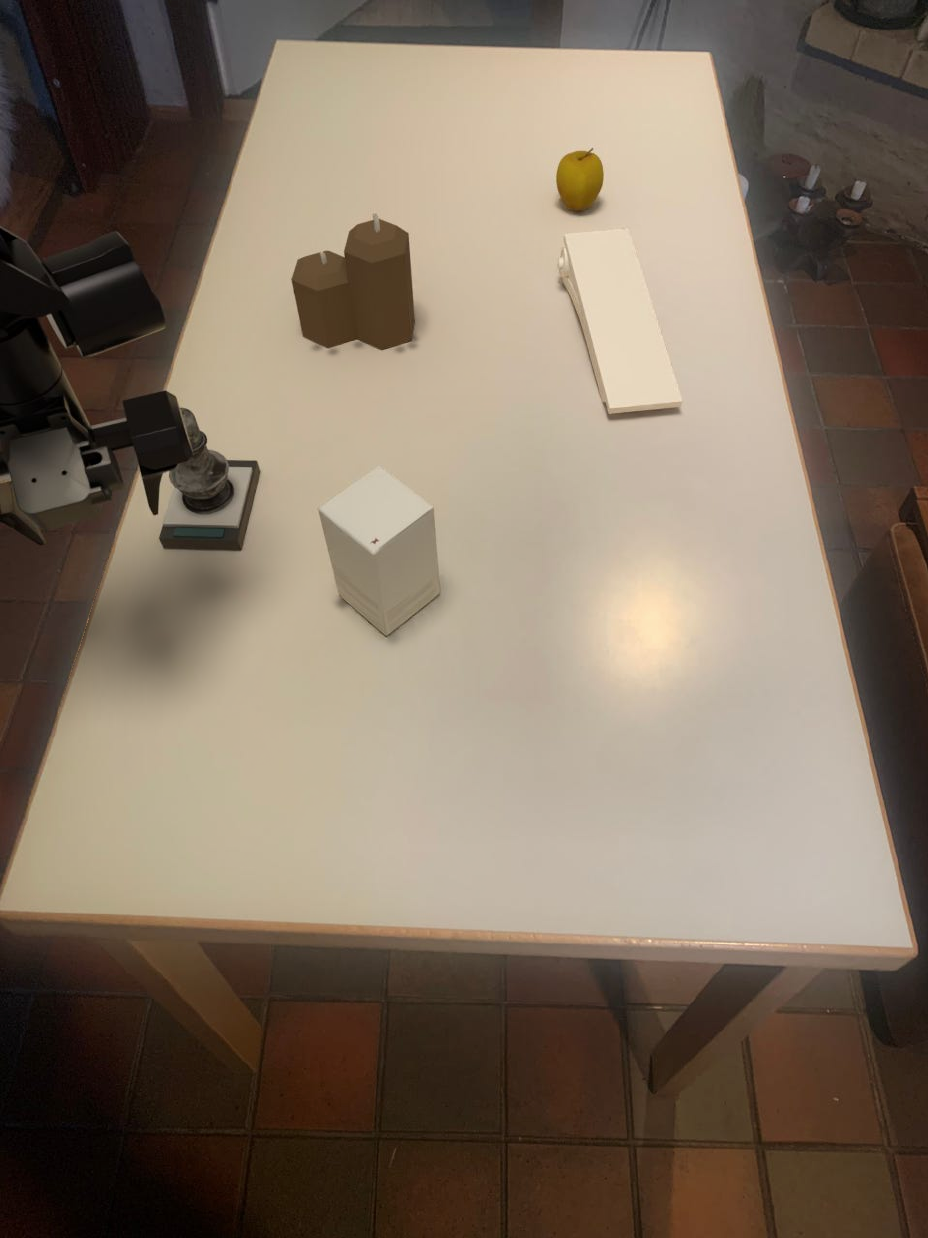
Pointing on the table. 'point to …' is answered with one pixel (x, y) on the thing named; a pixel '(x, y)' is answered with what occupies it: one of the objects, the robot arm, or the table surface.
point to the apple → (579, 179)
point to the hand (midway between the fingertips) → (99, 526)
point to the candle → (358, 289)
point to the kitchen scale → (213, 515)
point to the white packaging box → (382, 548)
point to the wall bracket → (618, 321)
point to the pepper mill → (202, 473)
